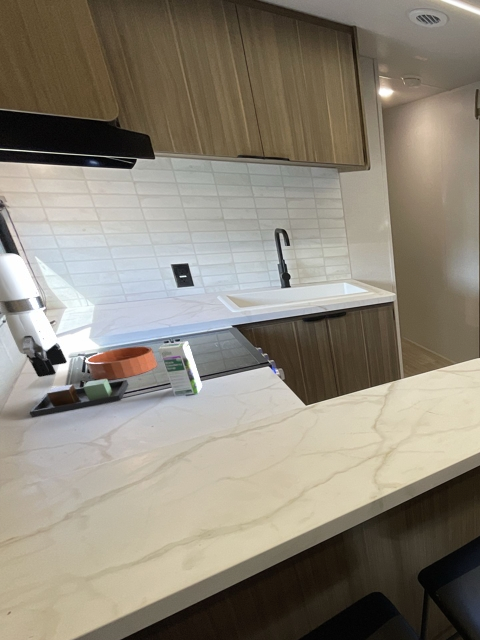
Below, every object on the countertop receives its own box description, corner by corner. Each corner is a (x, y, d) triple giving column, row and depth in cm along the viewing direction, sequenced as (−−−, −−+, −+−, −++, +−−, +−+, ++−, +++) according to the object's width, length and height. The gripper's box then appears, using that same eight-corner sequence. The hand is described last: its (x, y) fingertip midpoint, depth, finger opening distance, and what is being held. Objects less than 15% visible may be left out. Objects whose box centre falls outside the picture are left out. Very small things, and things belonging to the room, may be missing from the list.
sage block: (89, 400, 110) (83, 387, 109) (92, 395, 114) (86, 381, 112) (109, 397, 113) (103, 383, 111) (112, 391, 116) (106, 378, 114)
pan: (32, 419, 102) (29, 412, 101) (49, 400, 112) (46, 393, 112) (121, 402, 111) (118, 395, 110) (129, 385, 121) (126, 379, 120)
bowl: (87, 385, 121) (78, 367, 119) (99, 369, 134) (91, 352, 131) (155, 374, 129) (148, 356, 127) (160, 359, 142) (154, 343, 140)
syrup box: (174, 397, 113) (157, 348, 108) (179, 389, 118) (163, 342, 113) (198, 393, 115) (182, 345, 110) (202, 386, 120) (188, 340, 115)
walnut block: (53, 407, 107) (46, 393, 105) (58, 401, 110) (51, 387, 109) (75, 403, 109) (68, 389, 107) (79, 397, 112) (73, 384, 111)
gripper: (13, 301, 104) (44, 363, 111) (-17, 315, 91) (20, 383, 97) (53, 297, 108) (81, 357, 115) (30, 309, 94) (63, 376, 101)
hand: (53, 369), depth 106 cm, fingers open, 9 cm apart
